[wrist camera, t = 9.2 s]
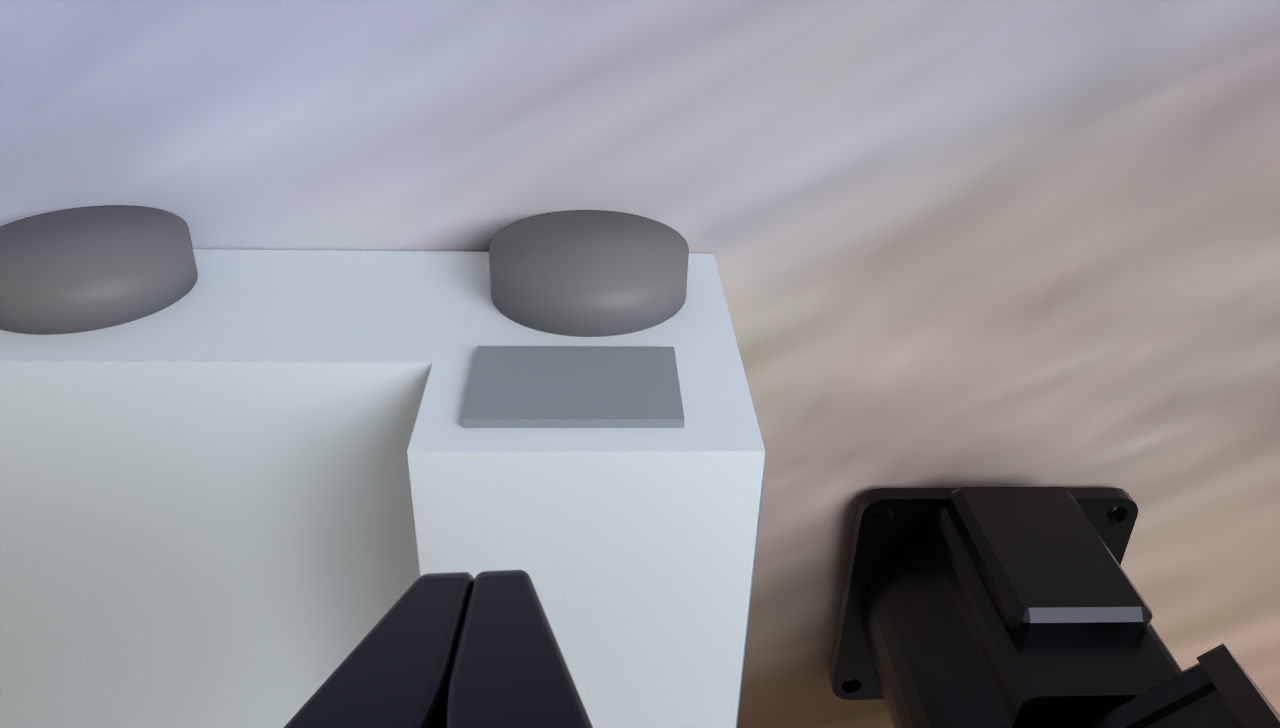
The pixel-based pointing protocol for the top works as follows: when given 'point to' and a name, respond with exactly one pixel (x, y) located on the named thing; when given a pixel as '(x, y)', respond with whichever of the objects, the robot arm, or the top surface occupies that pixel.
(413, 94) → the top surface
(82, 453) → the white stepped block
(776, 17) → the top surface
